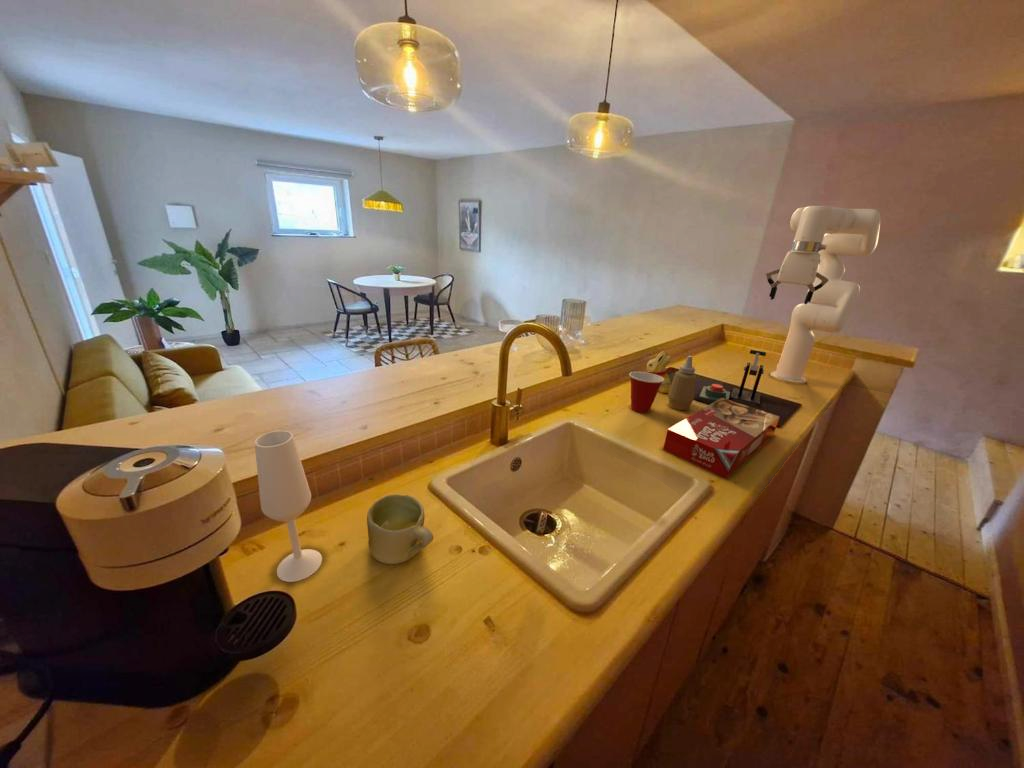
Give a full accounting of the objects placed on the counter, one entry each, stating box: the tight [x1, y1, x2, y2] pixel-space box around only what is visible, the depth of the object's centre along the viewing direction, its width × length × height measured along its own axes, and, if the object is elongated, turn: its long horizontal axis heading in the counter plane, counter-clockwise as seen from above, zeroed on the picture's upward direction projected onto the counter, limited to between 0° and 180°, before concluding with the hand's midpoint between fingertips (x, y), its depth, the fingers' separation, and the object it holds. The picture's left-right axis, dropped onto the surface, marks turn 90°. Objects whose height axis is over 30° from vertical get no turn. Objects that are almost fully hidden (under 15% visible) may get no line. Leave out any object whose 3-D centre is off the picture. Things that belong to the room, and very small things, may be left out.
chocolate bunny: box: [645, 350, 672, 394], centre depth 143 cm, size 7×11×15 cm, turn 38°
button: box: [710, 383, 724, 392], centre depth 137 cm, size 4×4×2 cm
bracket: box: [730, 362, 765, 405], centre depth 139 cm, size 11×9×13 cm
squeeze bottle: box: [667, 355, 697, 411], centre depth 128 cm, size 8×8×18 cm
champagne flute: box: [254, 429, 323, 583], centre depth 60 cm, size 7×7×24 cm
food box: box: [662, 398, 780, 480], centre depth 109 cm, size 35×16×6 cm, turn 132°
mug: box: [366, 493, 434, 565], centre depth 67 cm, size 12×10×10 cm
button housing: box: [698, 385, 731, 404], centre depth 138 cm, size 12×9×4 cm
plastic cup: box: [628, 371, 664, 414], centre depth 126 cm, size 11×11×12 cm
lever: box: [748, 349, 767, 377], centre depth 140 cm, size 12×5×2 cm, turn 148°
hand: (788, 301), depth 132 cm, fingers open, 9 cm apart
